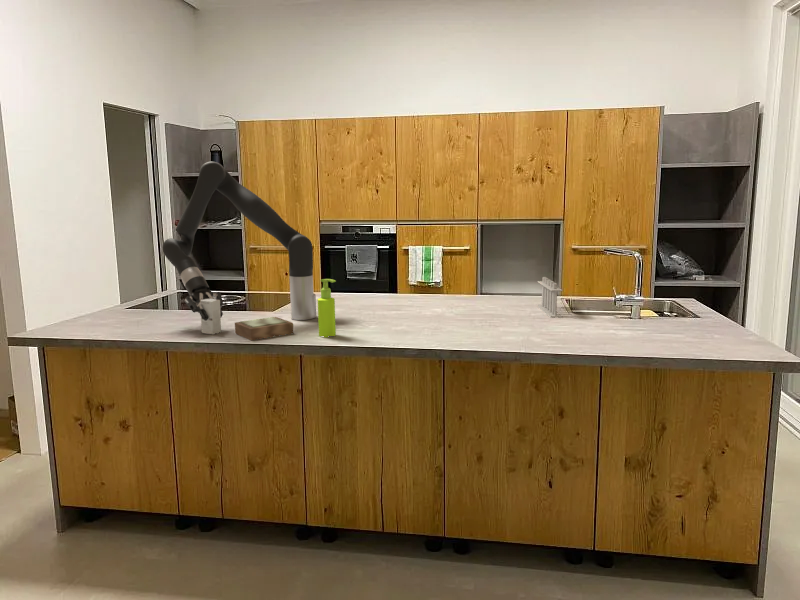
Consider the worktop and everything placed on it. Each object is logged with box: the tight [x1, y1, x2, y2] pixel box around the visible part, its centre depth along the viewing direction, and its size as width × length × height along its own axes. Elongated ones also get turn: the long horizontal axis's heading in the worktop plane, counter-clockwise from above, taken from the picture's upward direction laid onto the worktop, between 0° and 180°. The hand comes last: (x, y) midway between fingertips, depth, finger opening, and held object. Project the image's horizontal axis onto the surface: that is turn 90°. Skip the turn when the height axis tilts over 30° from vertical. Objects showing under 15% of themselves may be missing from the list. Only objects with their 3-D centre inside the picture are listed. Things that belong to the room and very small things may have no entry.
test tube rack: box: [536, 276, 563, 319], centre depth 252 cm, size 25×4×13 cm, turn 0°
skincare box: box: [200, 298, 222, 335], centre depth 222 cm, size 6×4×12 cm
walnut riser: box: [234, 316, 294, 341], centre depth 220 cm, size 16×14×4 cm
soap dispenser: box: [317, 278, 337, 338], centre depth 214 cm, size 6×7×20 cm
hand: (213, 317), depth 221 cm, fingers closed on skincare box, 5 cm apart
